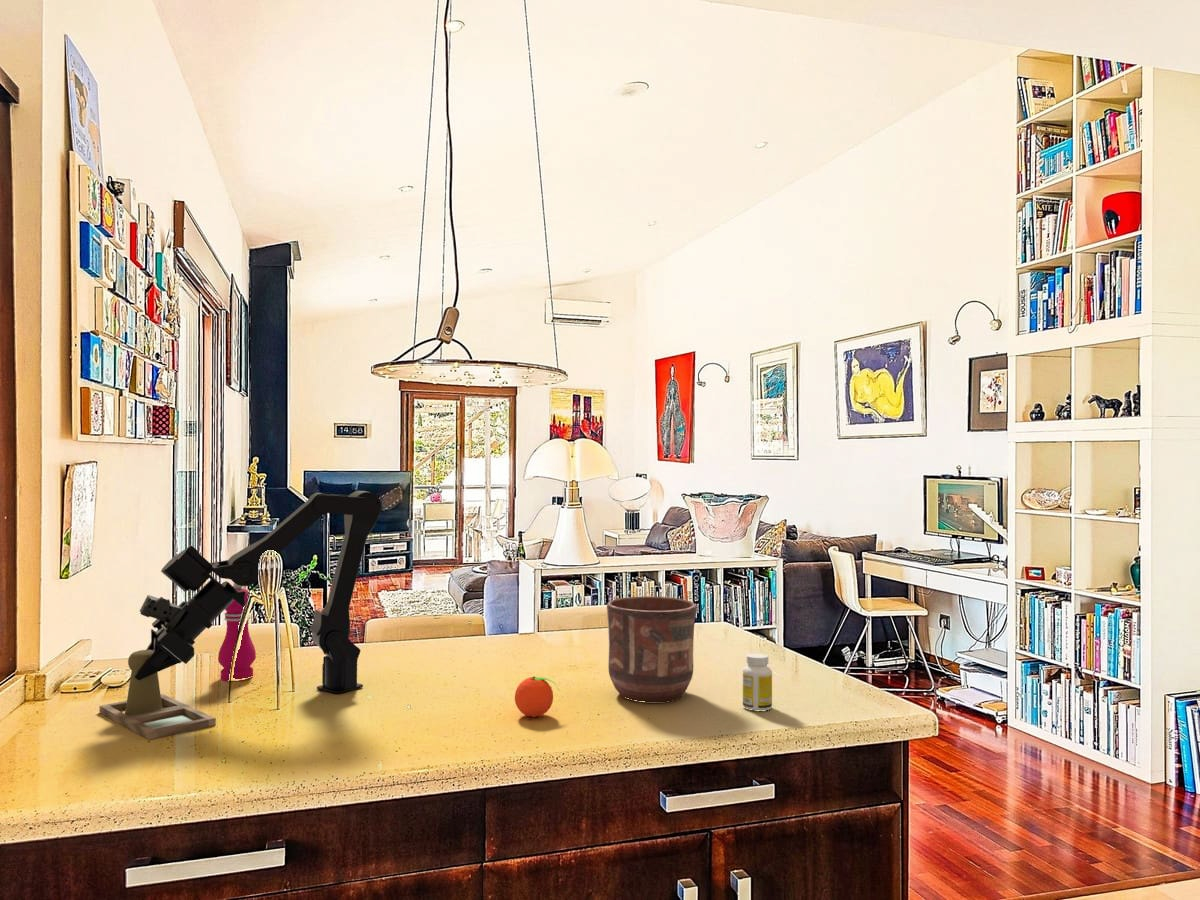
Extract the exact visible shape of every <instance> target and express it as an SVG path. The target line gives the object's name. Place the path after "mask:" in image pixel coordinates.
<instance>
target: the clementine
mask: <svg viewBox="0 0 1200 900" xmlns="http://www.w3.org/2000/svg"><path fill="white" fill-rule="evenodd" d="M548 681H549V682H552V683H553V684H554V685H555V686H556V687H557V689H558V691H560V689H559V688H558V685H557V684H556V683H555V681H553V680H551V679H549V678H546V677H543V676H541V677H539V676H531V677H527V678H525V679H523V680H522V681H521V682H520V683H519V684H518V686H517V687H516V689H515V691H514V692H515V693H514V702H515V706H516V707H517V709H518V710H519V712H520V713H521V714H523V716H526V717H529V716H531V717H530V718H537V717H536V716H538V717H541V716H543V715H545V714H546V713H547V712H548V711H549V710H550V708H551V707H552V705H553V701H554V692H553V689H552V686H551V685H550V684H549V682H548Z"/></svg>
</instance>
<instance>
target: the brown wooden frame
mask: <svg viewBox="0 0 1200 900" xmlns="http://www.w3.org/2000/svg"><path fill="white" fill-rule="evenodd" d="M160 695H161V702H162V706H164V708H163V707H162V709H158V710H153V711H148V712H143V713H138V714H133V715H126V714H125V712H122V711H125V710H126V703H127V700H124V701H118V702H114V703H108V704H102V705H99V709H98V710H99V714H101V715H103V716H105V717H106V718H109V719H111V720H112V721H114V722H116V723H117V724H120V725H121V726H123V727H125V728H127V729H129V731H132V732H134V733H136V734H137V735H139V736H141V737H143V738H145V739H146V740H154V739H159V738H164V737H169V736H172V735H177V734H181V733H182V734H183V733H187V732H190V731H195V730H200V729H204V728H205V729H206V728H209V727H214V726H216V722H217V721H216V720H217V718H216V717H214V716H212V715H210V714H208V713H205V712H204V711H201V710H199V709H197V708H194V707H193V706H190V705H188V704H185V703H183V702H181V701H179V700H176V699H175V698H172V697H170V696H167V695H166V694H165V693H164V694H163V693H160Z"/></svg>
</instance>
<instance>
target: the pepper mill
mask: <svg viewBox="0 0 1200 900" xmlns="http://www.w3.org/2000/svg"><path fill="white" fill-rule="evenodd" d="M232 586H233V587H234V588H235V589H237V590H238V591H240V590H244V591H245V592H246V594H245V604H246V602H247V594H248V591H249V590H248V589H245V588H243V586H240V585H237V584H235V583H234V582H233V585H232ZM244 606H245V605H244ZM244 606H241V605H240V604H238V603H237V602H236V601H235V600H234V601H233V602H232V603H231V604H230V605H229V606H228V607H227V608H226V609H225V610H224V611H225V613H224V620H225V621H226V632H225V637H224V639H223V642H222V644H221V646H220V648H219V651H218V655H217V656H218V658H217V661H218V664H220V665H221V667H222V669H221V670H220V681H223V682H229V681H228V680H229V674H230V669H231V662H232V656H233V651H234V647H235V644H236V640H237V634H238V625H239V622H240V616H241V612H242V610H243V607H244ZM250 619H251V616H250V617H249V619H248V621H247V623H246V624H245V627H244V630H243V635H242V640H241V646H240V649H239V650H238V653H237V658H236V661H235V667H234V675H233V678H235V679H242V678H248V677H251V676H253V677H254V668H253V667H252V664H254V662H255V661H256V658H257V656H256V649H255V645H254V643H253V640H252V638H251V636H250V632H249V620H250Z"/></svg>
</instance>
